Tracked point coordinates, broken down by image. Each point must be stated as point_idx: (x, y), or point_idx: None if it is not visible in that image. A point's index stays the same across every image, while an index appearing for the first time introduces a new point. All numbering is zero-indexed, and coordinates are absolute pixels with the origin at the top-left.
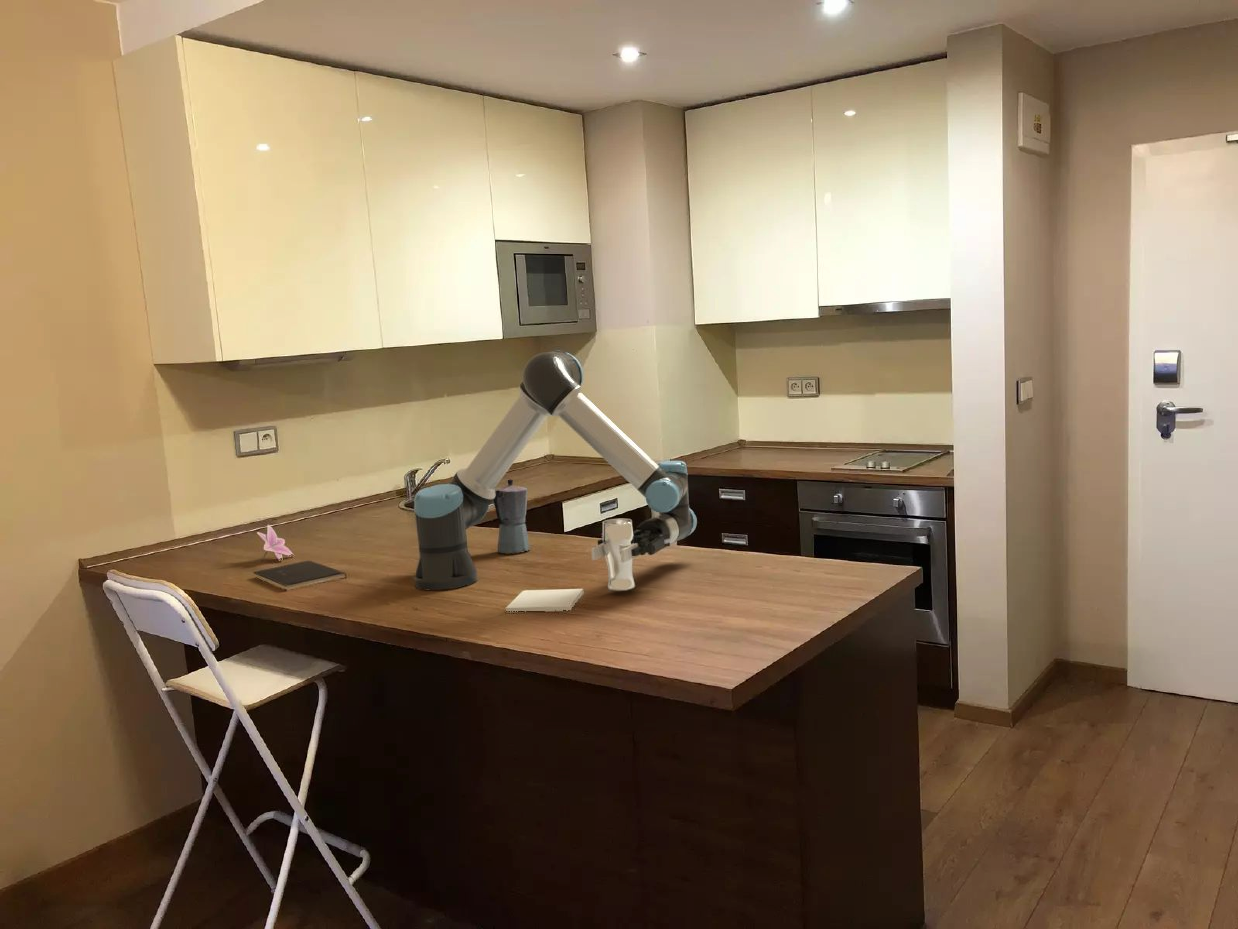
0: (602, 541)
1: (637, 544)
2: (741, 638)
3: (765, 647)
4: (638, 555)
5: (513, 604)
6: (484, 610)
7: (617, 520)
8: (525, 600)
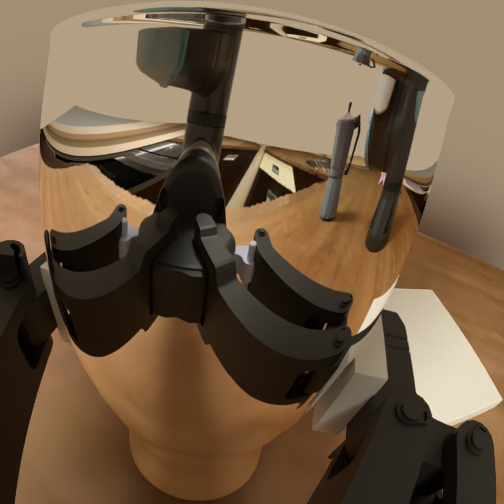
0: (451, 443)
1: (47, 265)
2: (16, 172)
3: (11, 160)
4: (63, 336)
5: (437, 306)
6: (468, 310)
7: (349, 79)
8: (439, 329)
